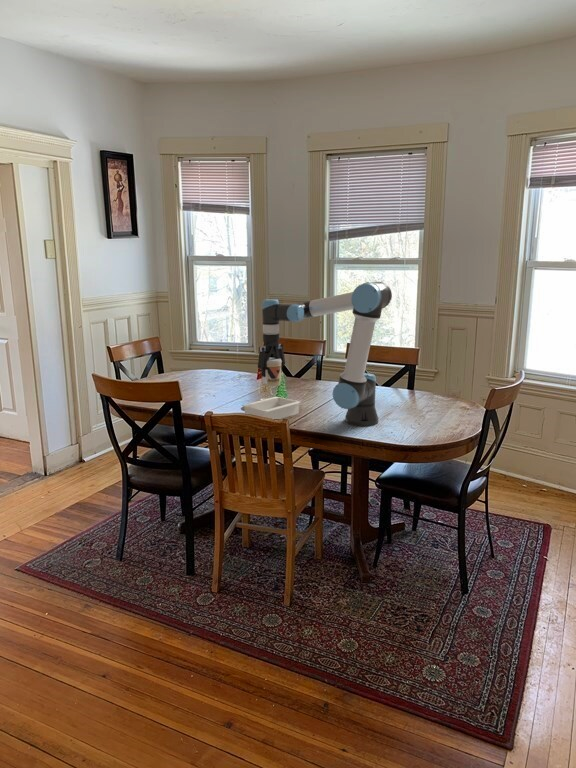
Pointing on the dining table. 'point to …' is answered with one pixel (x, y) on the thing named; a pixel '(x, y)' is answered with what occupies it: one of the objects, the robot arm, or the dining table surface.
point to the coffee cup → (274, 372)
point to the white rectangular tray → (273, 408)
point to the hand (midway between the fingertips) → (272, 381)
